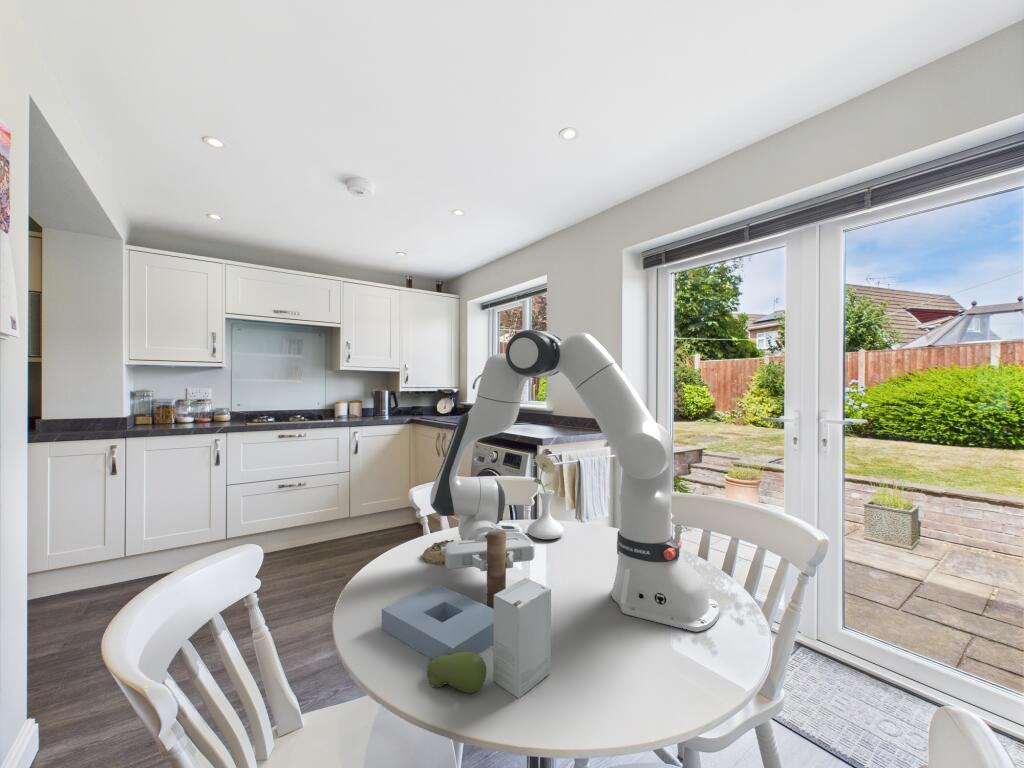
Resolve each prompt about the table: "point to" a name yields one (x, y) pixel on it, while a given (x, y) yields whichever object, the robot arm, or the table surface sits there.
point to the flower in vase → (545, 505)
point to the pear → (458, 671)
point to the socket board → (440, 622)
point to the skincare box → (522, 636)
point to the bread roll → (435, 553)
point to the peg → (495, 564)
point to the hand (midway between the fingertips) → (497, 566)
